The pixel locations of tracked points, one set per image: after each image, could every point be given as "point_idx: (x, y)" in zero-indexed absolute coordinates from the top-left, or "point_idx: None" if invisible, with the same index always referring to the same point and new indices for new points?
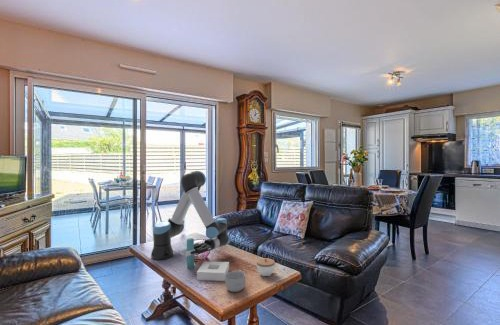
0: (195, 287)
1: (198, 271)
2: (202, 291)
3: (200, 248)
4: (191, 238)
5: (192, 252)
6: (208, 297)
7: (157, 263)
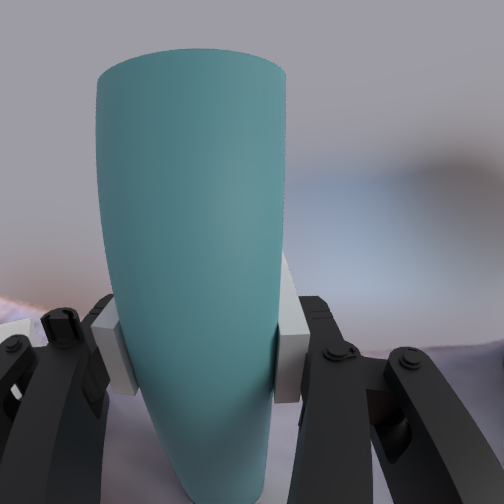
0: (35, 317)
1: (23, 323)
2: (7, 310)
3: (14, 456)
4: (216, 56)
5: (101, 306)
6: None
7: (461, 348)
